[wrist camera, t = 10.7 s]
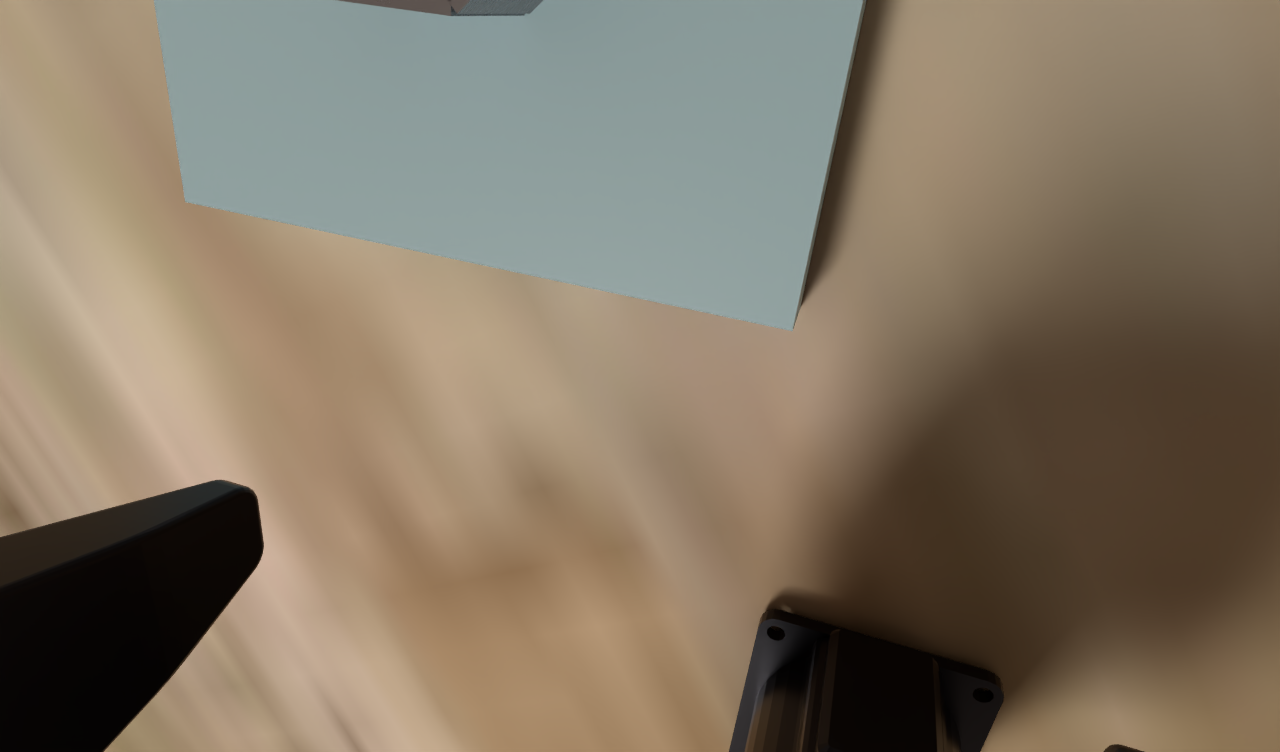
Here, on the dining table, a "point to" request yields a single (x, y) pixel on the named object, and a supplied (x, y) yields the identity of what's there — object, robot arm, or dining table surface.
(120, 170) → the dining table surface
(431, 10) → the ring
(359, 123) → the piston plate
